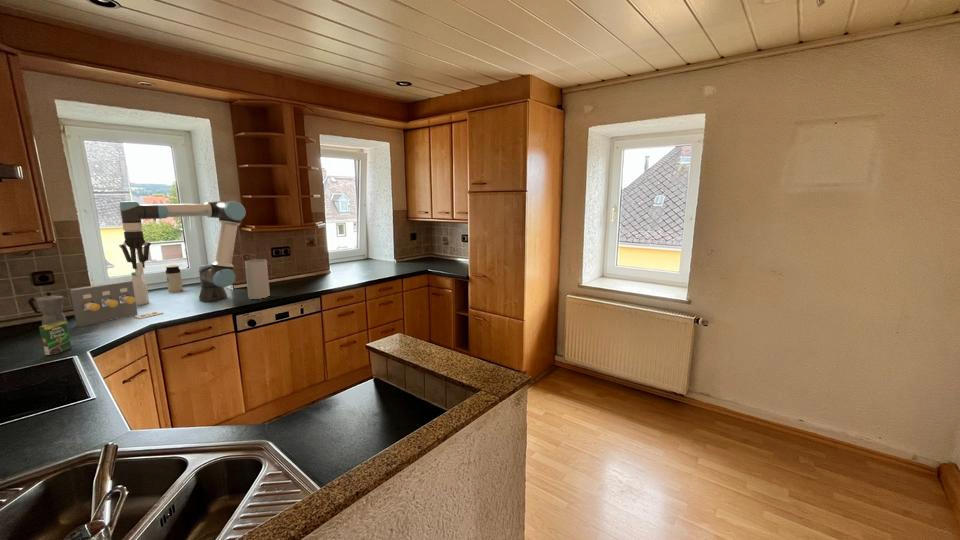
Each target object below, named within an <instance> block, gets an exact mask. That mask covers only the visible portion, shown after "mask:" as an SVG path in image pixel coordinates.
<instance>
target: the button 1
mask: <svg viewBox="0 0 960 540" xmlns="http://www.w3.org/2000/svg"><path fill="white" fill-rule="evenodd" d="M82 304H83V309H89V310H91V311H97V310H99V309H100V305H99V304H97V303H91V302H90V301H89V302H83V303H82Z"/></svg>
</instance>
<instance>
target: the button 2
mask: <svg viewBox="0 0 960 540" xmlns="http://www.w3.org/2000/svg"><path fill="white" fill-rule="evenodd" d="M119 298H120V302H125V303H128V304H133V303H134V302H135V301H136V299H135V298H134V297H129V296H126V295H122V296H119Z"/></svg>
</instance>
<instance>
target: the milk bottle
mask: <svg viewBox="0 0 960 540" xmlns="http://www.w3.org/2000/svg"><path fill="white" fill-rule="evenodd" d="M131 277H132V280H131V281H132V282H133V288H134V295H135V299H136V306H141V305H147V304H149V303H150V299H149V292H148V287H147V283H146V281H145V280H144V278H143V277H142V274H140V275H136V273H135V271H132V272H131Z"/></svg>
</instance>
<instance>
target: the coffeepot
mask: <svg viewBox="0 0 960 540" xmlns="http://www.w3.org/2000/svg"><path fill="white" fill-rule="evenodd" d="M65 300H67V297H66V296H63V295H52V292H49V291H47V292H46V296H43V297H40V296H39V297H37V296H35V297H30V298H29V299H28V300H27V303H28V305H29V307H30V308H31V310H32V311H33V312H34V314H41V313H42V316H41V318H42V319H41V326H43V325H47V324H51V323H54V322H58V321H66V324H67V326H68V324H69V321H68V319H67V317H66V316H65V314H64V312H63V309H64V302H65ZM34 302H36V304H37V306H38V308H39V310H40V311H38V310H37V307H36V305H35V303H34Z"/></svg>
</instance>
